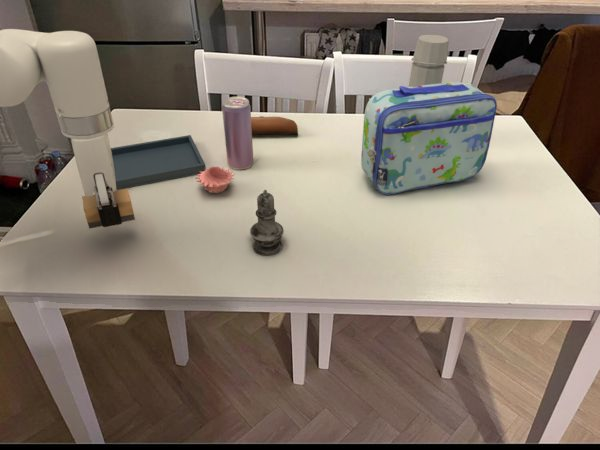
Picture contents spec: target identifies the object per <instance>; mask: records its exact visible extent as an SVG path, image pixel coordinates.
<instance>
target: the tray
mask: <svg viewBox="0 0 600 450" xmlns="http://www.w3.org/2000/svg"><path fill="white" fill-rule="evenodd" d="M111 152H112V157H113V163H114V170H115V180H116V191H117V190H123V189H129V188H134V187H139V186H143V185H149V184H154V183H159V182H165V181H169V180H175V179H181V178H184V177H191V176H197V175H196V174H201V172H203V171H206V170H205V169H207V166H206V163H205V161H204V159H203V157H202V155H201V153H200V151H199V149H198V147H197V145H196V143H195V141H194V138H193V137H192V135H191V134H188V135H181V136H176V137H170V138H163V139H158V140H151V141H146V142H140V143H134V144H127V145H121V146H115V147H111ZM199 171H201V172H199Z"/></svg>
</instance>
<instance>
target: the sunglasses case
mask: <svg viewBox="0 0 600 450" xmlns="http://www.w3.org/2000/svg"><path fill="white" fill-rule="evenodd" d="M251 126H252V135H253V134H254V135H288V134H289V135H291V134H292V135H296V136H299V134H298V132H299V131H298V129H299V128H298V124H297V123H296V122H295V120H293V119H289V118H287V117H283V116H264V115H263V116H251Z"/></svg>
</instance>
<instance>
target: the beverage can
mask: <svg viewBox="0 0 600 450" xmlns="http://www.w3.org/2000/svg"><path fill="white" fill-rule="evenodd" d="M221 111H222V121H223V133H224V141H225V143H224V144H225V150H226V151H225V152H226V162H227V166H229V167H230V168H231V169H232V170H236V171H242V170H247V169H249V168H251V167H252V165H254V160H255V159H254V145H253V143H254V142H253V134H252V126H251V117H252V109H251V105H250V100H249V99H248V98H247V97H243V96H230V97H227V98H225V99H224V100H222V105H221Z"/></svg>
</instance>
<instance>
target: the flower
mask: <svg viewBox="0 0 600 450" xmlns="http://www.w3.org/2000/svg"><path fill="white" fill-rule="evenodd" d="M205 170H206V171H203V172H201V171H199V172H201V174H196V175H195V176H197V177H195V179H196V183H197V182H198V183H199V186H203V188H204V190H207V192H209V193H211V194H220V193H222V192H223V191H225V190H226V189H227V186H228V185H229V183H231V182H232V180H234V178H233V177H234V176H235V174H233V171H230V168H227V169H225V167H224V166H223V167H220V166H210V167H208V168H206V169H205Z"/></svg>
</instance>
